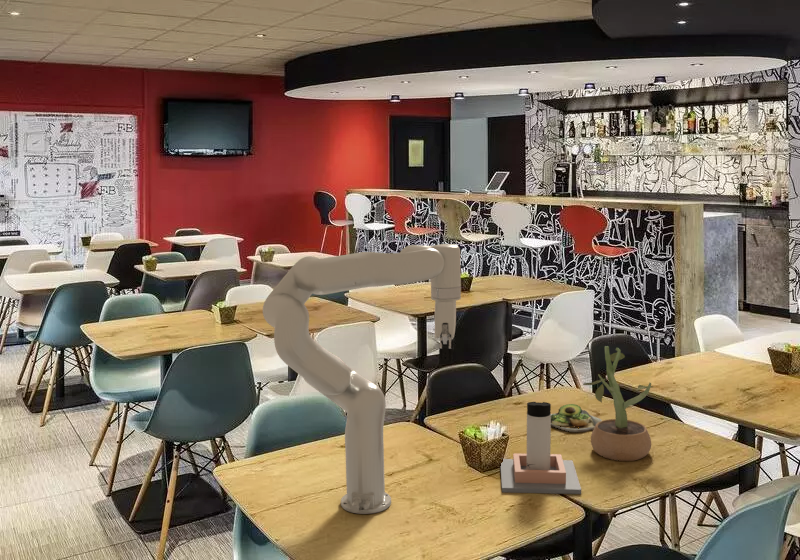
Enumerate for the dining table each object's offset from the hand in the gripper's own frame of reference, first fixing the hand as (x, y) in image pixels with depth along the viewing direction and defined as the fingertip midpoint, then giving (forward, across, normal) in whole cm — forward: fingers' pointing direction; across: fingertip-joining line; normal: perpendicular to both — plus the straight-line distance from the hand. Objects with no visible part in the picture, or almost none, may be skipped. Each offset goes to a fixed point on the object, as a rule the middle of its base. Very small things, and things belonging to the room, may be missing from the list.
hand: (446, 359), depth 201 cm
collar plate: (+34, -7, +24) cm, 42 cm away
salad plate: (+35, -53, +38) cm, 74 cm away
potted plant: (+34, -30, +48) cm, 66 cm away
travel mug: (+33, -7, +24) cm, 41 cm away
